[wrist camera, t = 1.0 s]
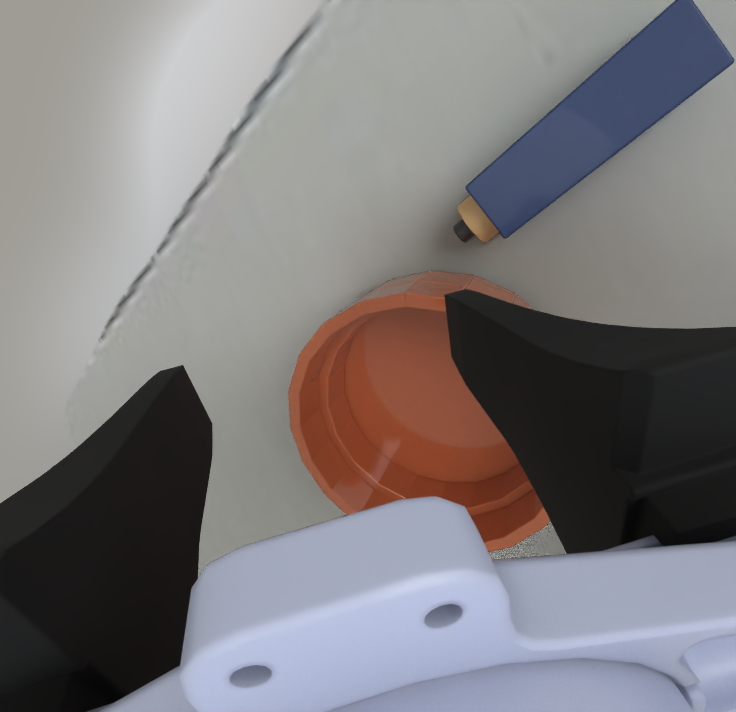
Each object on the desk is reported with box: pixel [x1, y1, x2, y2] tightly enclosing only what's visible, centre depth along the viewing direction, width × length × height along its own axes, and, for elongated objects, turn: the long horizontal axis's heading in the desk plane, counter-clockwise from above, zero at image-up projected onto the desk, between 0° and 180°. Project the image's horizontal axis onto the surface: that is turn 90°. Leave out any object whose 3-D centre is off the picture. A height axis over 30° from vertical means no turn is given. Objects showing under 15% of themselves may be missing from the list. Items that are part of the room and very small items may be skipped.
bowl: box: [289, 271, 550, 552], centre depth 23 cm, size 13×13×5 cm
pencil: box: [453, 0, 734, 243], centre depth 18 cm, size 10×3×3 cm, turn 132°
